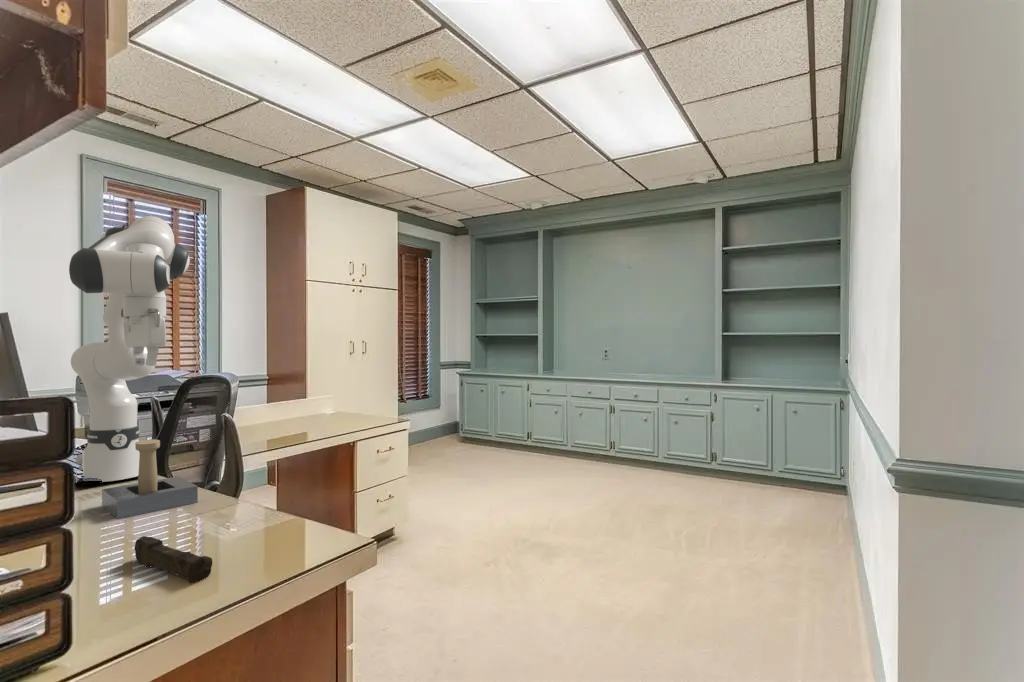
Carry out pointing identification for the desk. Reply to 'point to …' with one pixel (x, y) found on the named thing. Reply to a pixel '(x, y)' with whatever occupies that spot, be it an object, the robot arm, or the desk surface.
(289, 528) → the desk surface
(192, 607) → the desk surface
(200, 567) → the hand tool
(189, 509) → the desk surface
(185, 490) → the jig
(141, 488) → the handle
